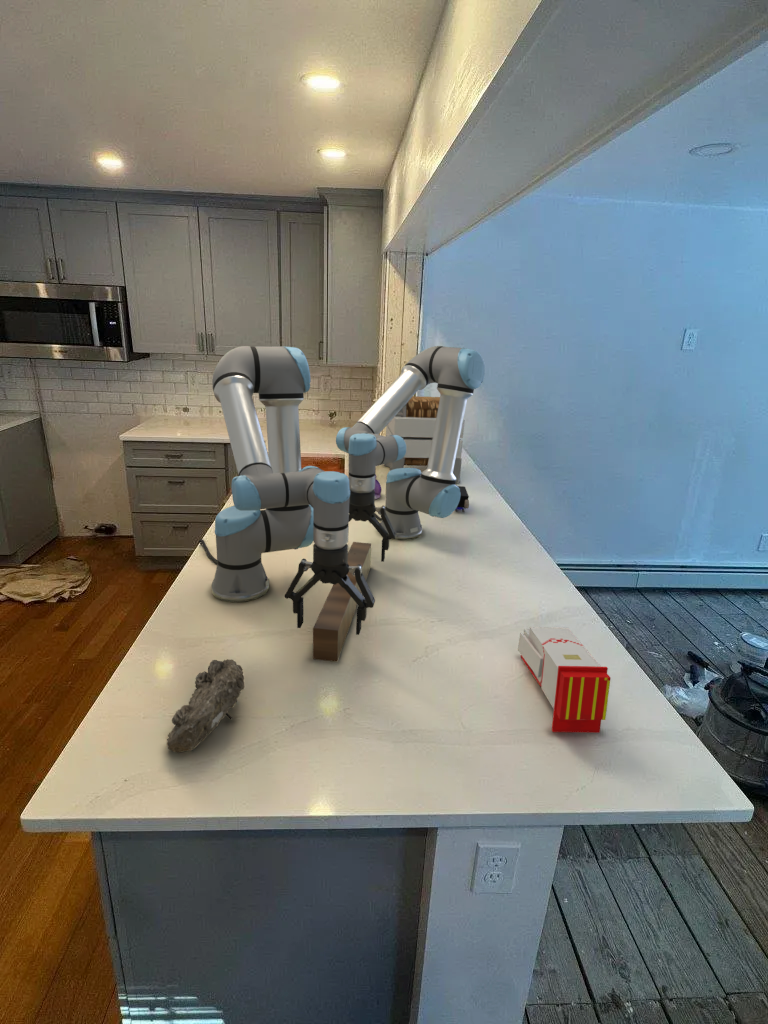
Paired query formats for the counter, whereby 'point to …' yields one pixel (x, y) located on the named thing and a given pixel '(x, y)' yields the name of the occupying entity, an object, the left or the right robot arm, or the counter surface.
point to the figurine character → (463, 499)
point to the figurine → (377, 488)
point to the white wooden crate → (419, 433)
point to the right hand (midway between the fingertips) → (360, 557)
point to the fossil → (206, 705)
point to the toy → (566, 678)
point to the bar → (339, 609)
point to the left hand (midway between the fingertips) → (329, 628)
